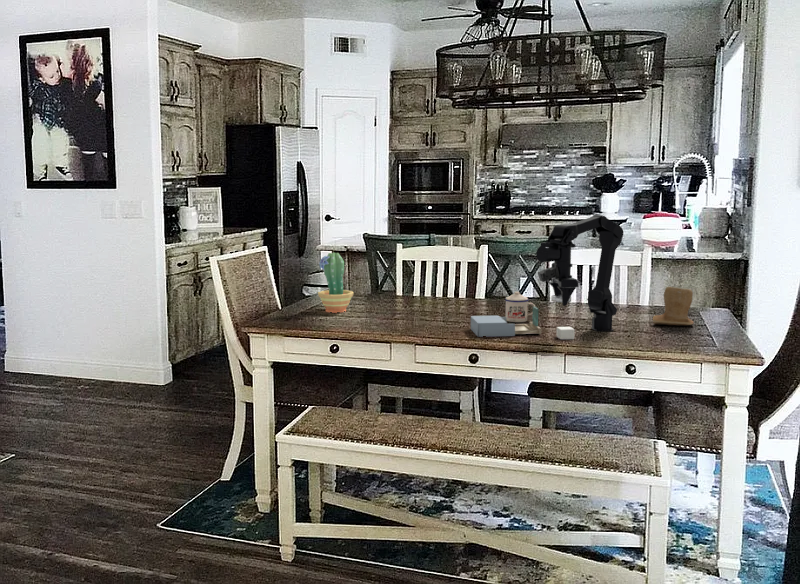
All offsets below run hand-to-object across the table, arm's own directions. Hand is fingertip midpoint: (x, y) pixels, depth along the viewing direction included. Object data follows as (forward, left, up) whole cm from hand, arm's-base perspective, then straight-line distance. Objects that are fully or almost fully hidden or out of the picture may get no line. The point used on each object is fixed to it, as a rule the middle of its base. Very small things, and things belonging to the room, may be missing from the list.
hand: (561, 304), depth 279 cm
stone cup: (-51, -19, -12) cm, 55 cm away
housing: (+22, -11, -12) cm, 27 cm away
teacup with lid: (+6, -33, -12) cm, 36 cm away
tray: (+13, -11, -12) cm, 21 cm away
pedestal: (-2, +1, -12) cm, 12 cm away
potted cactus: (+79, -63, -12) cm, 102 cm away
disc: (0, 0, +1) cm, 1 cm away
